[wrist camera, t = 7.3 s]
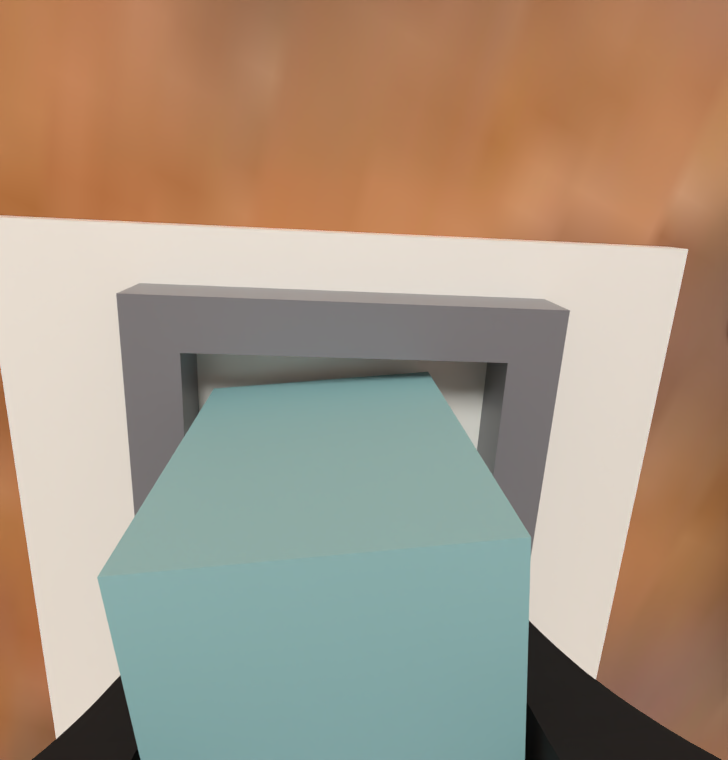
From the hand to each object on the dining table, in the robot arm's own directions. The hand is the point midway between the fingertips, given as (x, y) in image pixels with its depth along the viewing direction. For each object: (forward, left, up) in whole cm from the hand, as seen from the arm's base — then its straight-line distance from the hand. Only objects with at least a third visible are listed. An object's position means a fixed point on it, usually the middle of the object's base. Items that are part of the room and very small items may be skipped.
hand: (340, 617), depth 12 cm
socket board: (0, 0, -4) cm, 4 cm away
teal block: (0, 0, -2) cm, 2 cm away
